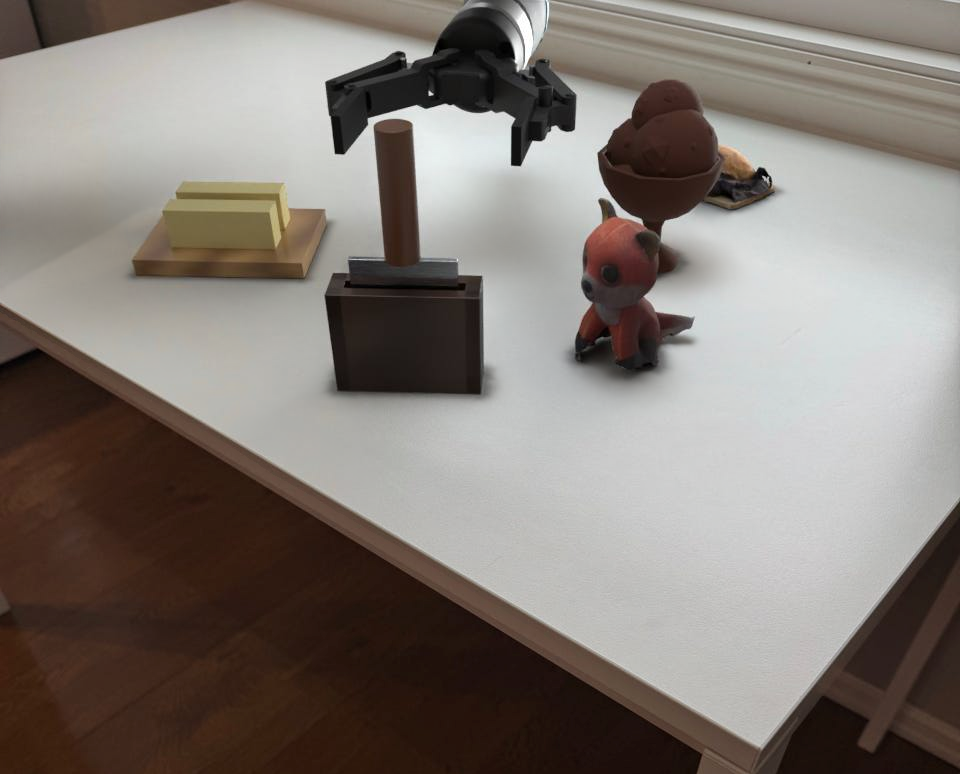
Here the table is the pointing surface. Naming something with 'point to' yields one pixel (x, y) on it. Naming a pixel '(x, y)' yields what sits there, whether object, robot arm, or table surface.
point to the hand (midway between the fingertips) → (425, 141)
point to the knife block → (407, 337)
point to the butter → (227, 215)
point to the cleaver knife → (400, 222)
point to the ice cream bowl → (662, 159)
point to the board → (236, 253)
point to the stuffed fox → (624, 292)
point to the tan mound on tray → (738, 182)
